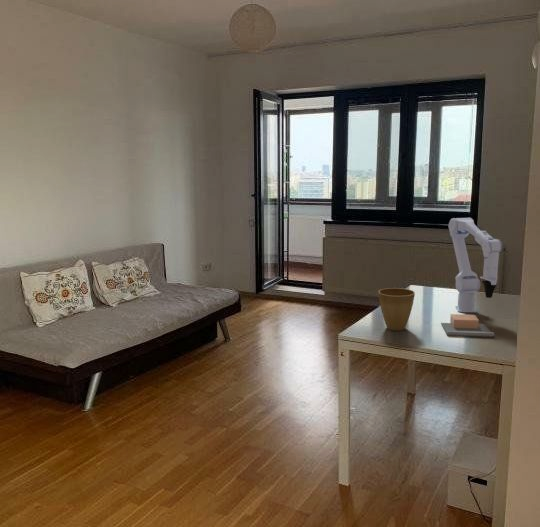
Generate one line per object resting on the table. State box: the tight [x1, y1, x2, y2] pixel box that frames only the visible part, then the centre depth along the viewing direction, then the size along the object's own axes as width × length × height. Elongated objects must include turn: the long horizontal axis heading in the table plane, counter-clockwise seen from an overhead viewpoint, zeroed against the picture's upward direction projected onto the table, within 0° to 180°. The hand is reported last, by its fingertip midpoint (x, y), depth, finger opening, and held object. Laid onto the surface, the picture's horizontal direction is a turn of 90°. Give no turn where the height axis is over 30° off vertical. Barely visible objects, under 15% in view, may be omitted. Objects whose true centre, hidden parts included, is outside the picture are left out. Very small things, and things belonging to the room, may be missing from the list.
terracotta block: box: [449, 313, 480, 329], centre depth 230 cm, size 4×10×8 cm
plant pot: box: [378, 287, 416, 332], centre depth 229 cm, size 15×15×16 cm
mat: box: [440, 322, 495, 339], centre depth 226 cm, size 16×18×2 cm
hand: (488, 297), depth 238 cm, fingers closed
